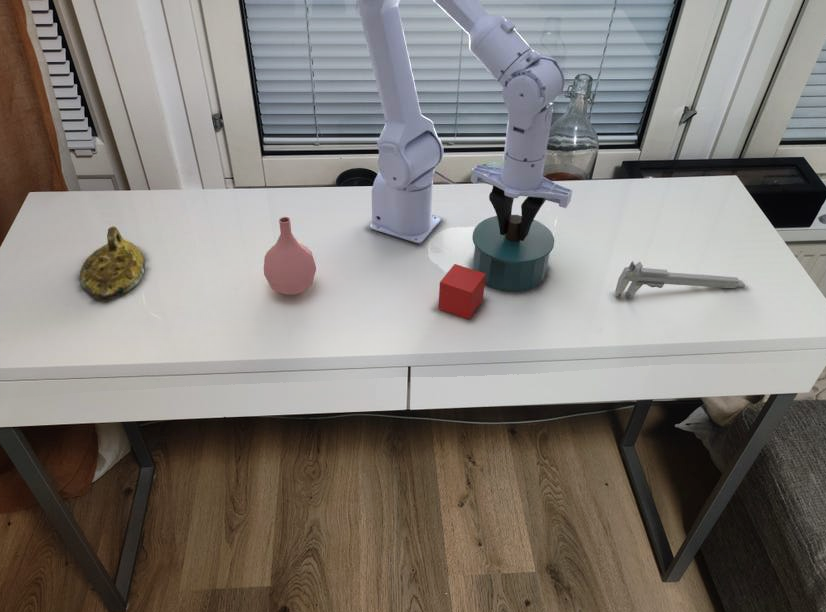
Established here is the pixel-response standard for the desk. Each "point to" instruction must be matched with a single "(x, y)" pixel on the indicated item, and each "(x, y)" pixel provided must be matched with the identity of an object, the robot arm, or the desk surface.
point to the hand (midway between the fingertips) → (513, 234)
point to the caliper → (668, 279)
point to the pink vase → (289, 263)
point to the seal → (112, 268)
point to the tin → (510, 273)
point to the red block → (461, 291)
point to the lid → (513, 241)
